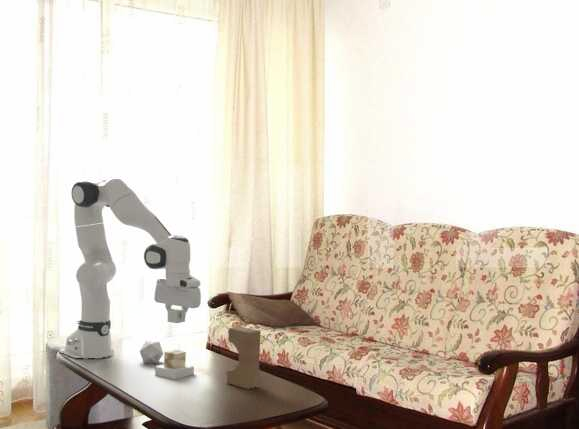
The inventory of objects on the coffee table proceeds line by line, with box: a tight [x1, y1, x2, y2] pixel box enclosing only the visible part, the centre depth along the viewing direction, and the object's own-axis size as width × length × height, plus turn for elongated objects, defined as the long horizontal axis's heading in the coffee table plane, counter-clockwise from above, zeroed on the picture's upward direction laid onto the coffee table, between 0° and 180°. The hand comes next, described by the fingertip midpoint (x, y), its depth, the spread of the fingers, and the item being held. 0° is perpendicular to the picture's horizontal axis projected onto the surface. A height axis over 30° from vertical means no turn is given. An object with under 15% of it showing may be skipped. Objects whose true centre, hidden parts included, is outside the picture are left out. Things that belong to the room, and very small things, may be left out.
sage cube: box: [167, 307, 186, 324], centre depth 269 cm, size 4×4×4 cm
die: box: [139, 340, 164, 365], centre depth 286 cm, size 8×9×10 cm
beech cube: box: [163, 348, 187, 369], centre depth 270 cm, size 6×6×6 cm
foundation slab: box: [154, 363, 195, 380], centre depth 270 cm, size 10×10×3 cm
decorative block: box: [226, 326, 261, 390], centre depth 259 cm, size 11×6×20 cm, turn 48°
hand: (176, 317), depth 269 cm, fingers closed on sage cube, 4 cm apart
